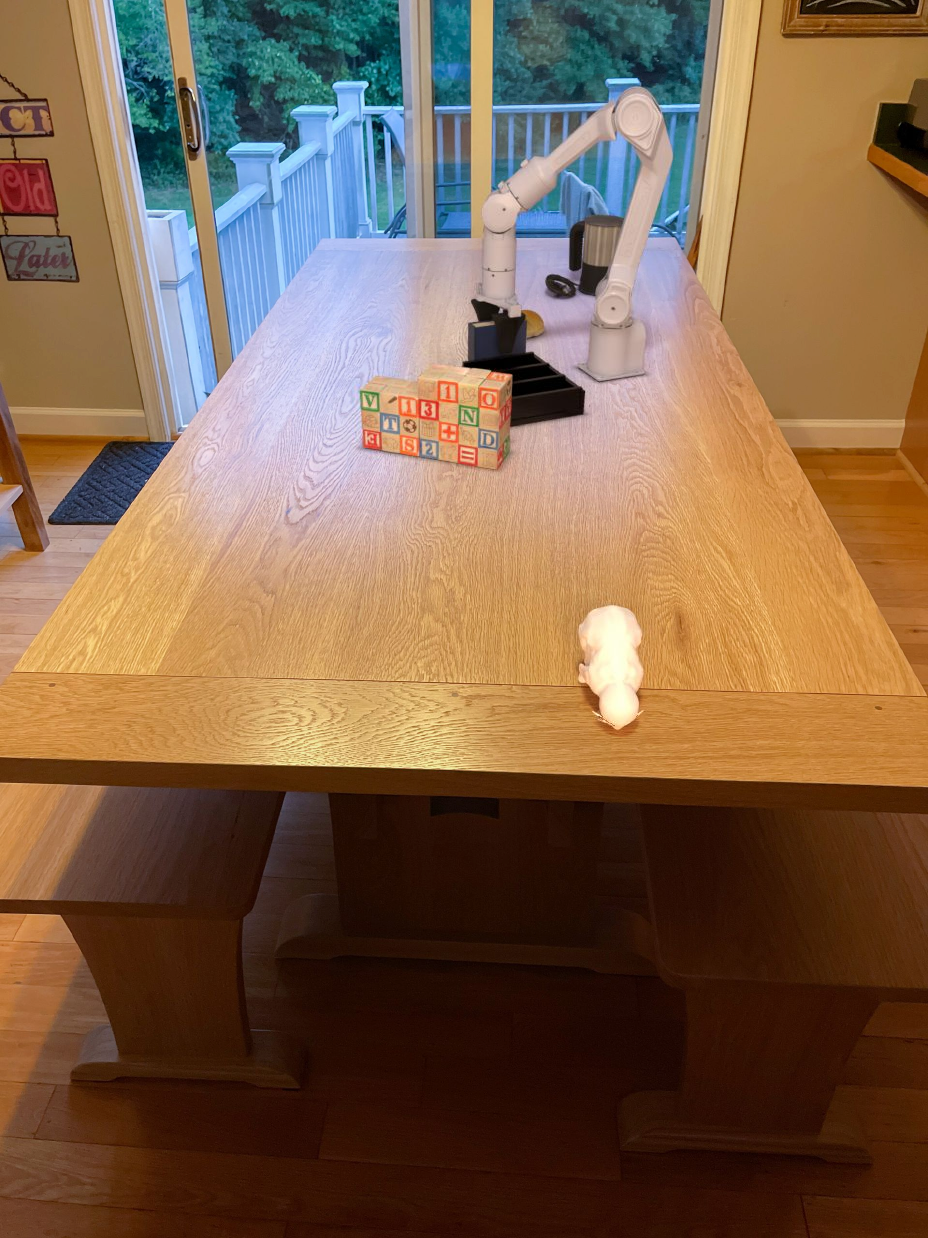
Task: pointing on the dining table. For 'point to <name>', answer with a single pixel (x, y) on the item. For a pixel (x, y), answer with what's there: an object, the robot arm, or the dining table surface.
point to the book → (491, 340)
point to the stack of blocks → (440, 415)
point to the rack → (535, 388)
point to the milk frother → (588, 253)
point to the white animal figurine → (612, 662)
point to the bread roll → (533, 323)
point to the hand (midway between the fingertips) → (496, 345)
